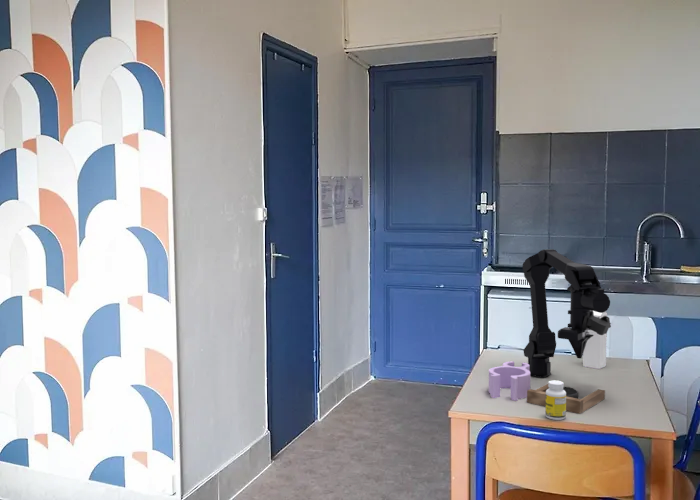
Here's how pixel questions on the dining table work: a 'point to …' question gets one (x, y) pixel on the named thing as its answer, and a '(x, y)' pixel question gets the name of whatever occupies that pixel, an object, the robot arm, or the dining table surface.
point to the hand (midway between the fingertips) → (579, 358)
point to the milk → (595, 348)
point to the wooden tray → (567, 399)
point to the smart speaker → (571, 392)
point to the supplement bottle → (555, 400)
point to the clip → (510, 380)
